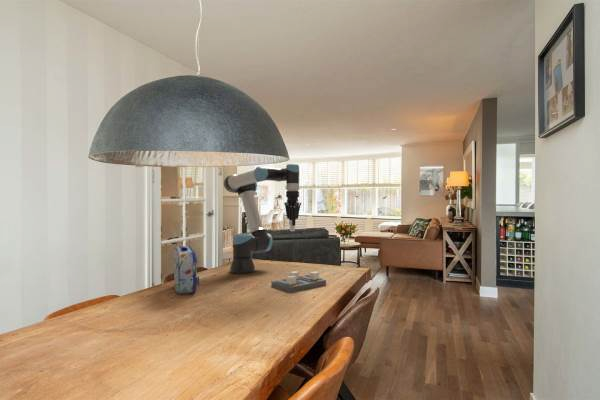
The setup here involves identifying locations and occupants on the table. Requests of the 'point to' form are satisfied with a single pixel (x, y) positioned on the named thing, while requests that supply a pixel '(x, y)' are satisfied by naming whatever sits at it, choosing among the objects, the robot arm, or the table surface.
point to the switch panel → (298, 284)
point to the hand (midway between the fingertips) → (292, 231)
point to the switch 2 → (314, 275)
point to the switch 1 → (291, 280)
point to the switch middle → (295, 274)
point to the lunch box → (185, 270)
